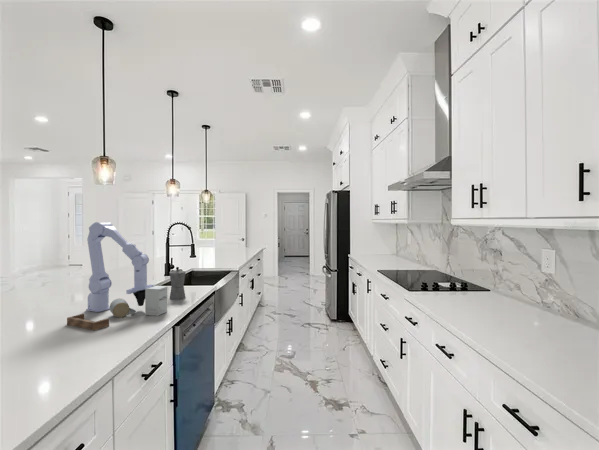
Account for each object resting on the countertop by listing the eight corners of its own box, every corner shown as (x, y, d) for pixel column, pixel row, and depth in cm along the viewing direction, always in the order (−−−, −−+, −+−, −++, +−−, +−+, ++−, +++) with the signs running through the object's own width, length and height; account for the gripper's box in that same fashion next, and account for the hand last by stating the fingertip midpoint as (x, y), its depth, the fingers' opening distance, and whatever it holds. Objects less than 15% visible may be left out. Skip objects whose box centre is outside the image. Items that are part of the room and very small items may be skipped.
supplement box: (158, 316, 155) (158, 289, 154) (144, 315, 156) (144, 288, 156) (167, 311, 162) (167, 286, 162) (154, 310, 163) (154, 285, 163)
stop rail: (67, 324, 141) (66, 317, 141) (82, 320, 147) (82, 313, 147) (94, 330, 134) (94, 323, 134) (109, 325, 140) (109, 318, 140)
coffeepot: (190, 298, 190) (190, 267, 189) (174, 301, 183) (174, 269, 183) (178, 294, 201) (178, 264, 200) (163, 296, 194) (163, 266, 194)
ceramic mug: (112, 319, 149) (112, 302, 149) (109, 315, 155) (109, 299, 155) (138, 315, 155) (138, 299, 155) (133, 312, 162) (134, 296, 162)
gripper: (133, 281, 156) (133, 309, 156) (158, 276, 170) (158, 303, 170) (123, 280, 159) (123, 308, 159) (148, 275, 172) (148, 301, 173)
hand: (140, 305), depth 165 cm, fingers closed
